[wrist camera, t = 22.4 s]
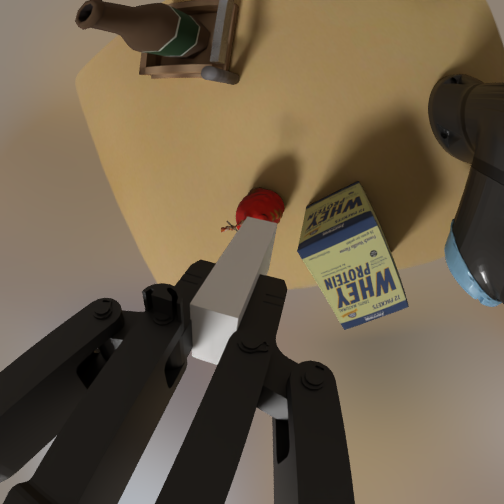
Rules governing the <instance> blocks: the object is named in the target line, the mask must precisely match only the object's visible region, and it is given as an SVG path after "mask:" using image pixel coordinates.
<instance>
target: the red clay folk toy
mask: <svg viewBox="0 0 504 504" xmlns="http://www.w3.org/2000/svg"><path fill="white" fill-rule="evenodd" d="M283 212H284V203H283V201H282V199H281V197H280V196H279V195H278V194H277V193H275V192H273V191H271V190H267V189H262V188H260V187H259V188H255V189H252V190H251V191H250V192H249V194H248V195H247V196H245V197H244V198H243V200H242V201H241V202H240V203H239V205H238V208H237V211H236V222H237V225H236V226H233V225H231V224H230V223H229V222H228V221H227V223H228V224H229V225H231V226H226V228H225V227H222V228H221V232H225V231H226V230H236V231H237V229H238V230H239V228H240V227H241V225H242V224H243V223H244V221H245V220H246V218H247V217H251V218H256V219H260V220H265V221H269V222H274V223H277V224H278V223H279V222H280V219H281V218H282V215H283ZM235 227H237V229H236V228H235Z"/></svg>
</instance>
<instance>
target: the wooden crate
mask: <svg viewBox="0 0 504 504" xmlns="http://www.w3.org/2000/svg"><path fill="white" fill-rule="evenodd" d="M166 5H169V6H171V7H173V8H175V9H178V10H180V11H182V12H184V13H186V14H187V15H189V16H191V17H193V18H195V19H197V20H198V21H200V22H201V23H202V24H203V25H204V26H205V27H206V29H207V30H208V31H209V32H210V37H209V41H208V46H207V49H205V50H204V51H203V52H201V53H200V54H199V55H198V56H196V57H195V58H194V59H184V58H171V57H166V56H161V55H156V54H150V53H144V52H142V53H141V61H140V71H139V75H152V76H151V78H154V79H158V78H203V79H206V80H211V81H217V82H222V83H227V84H232V85H234V84H237V83H238V82H239V76H238V75H237V74H235V73H232V72H229V65H230V58H231V51H232V44H233V37H234V31H235V25H236V18H237V12H238V6H237V5H236V4H234V6H233V12H232V18H231V24H230V30H229V37H228V44H227V51H226V58H225V64H216V63H213V62H210V56H211V49H212V42H213V35H214V29H215V23H216V17H217V11H218V5H219V0H193V1H185V2H178V3H172V4H166Z"/></svg>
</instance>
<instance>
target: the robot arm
mask: <svg viewBox="0 0 504 504" xmlns="http://www.w3.org/2000/svg"><path fill="white" fill-rule="evenodd" d="M428 114H429V121H430V125H431V128H432V131H433V133H434V135H435V137H436V139H437V141H438V142H439V144H440V145H441V146H442V147H443V149H444V150H445V151H446V152H448V153H449V154H450V155H451V156H453V157H455V158H457V159H459V160H461V161H463V162H466V163H472V165H471V168H470V172H469V175H468V179H467V182H466V186H465V189H464V192H463V195H462V198H461V201H460V204H459V207H458V210H457V213H456V215H455V218H454V219H453V220H452V223H451V229H450V233H449V236H448V239H447V241H446V244H445V259H446V262H447V265H448V267H449V270H450V271H451V273H452V275H453V276H454V278H455V279H456V281H457V282H458V283H459V285H460V286H461V287H462V288H463V289H464V290H465V291H466V292H467V293H468V294H469V295H470V296H471V297H473V298H474V299H477V298H478V299H479V301H480V303H482V304H483V305H486V306H490V307H494V306H497V305H499V304H501V303H503V304H504V83H483V82H481V81H479V80H478V79H476V78H474V77H471V76H468V75H463V74H456V75H450V76H447V77H444V78H443V79H441V80H440V81H439V82H438V83H437V84H436V85H435V86H434V88H433V90H432V92H431V95H430V98H429V104H428ZM276 229H277V223H274V222H269V221H265V220H260V219H256V218H251V217H247V218H246V220H245V221H244V223H243V224H242V225H241V227H240V228H239V230H238V231H237V233H236V234H235V236H234V237H233V239H232V240H231V242H230V243H229V245H228V246H227V248H226V249H225V251H224V252H223V254H222V255H221V257H220V258H219V260H218V261H217V263H212V262H208V261H204V260H199V261H197V262H195V263H194V264H192V265H191V266H190V267H189V268H188V270H187V271H186V272H185V274H184V275H183V276H182V277H181V279H180V280H179V281H178V282H177V284H176V285H175V286H172V285H170V284H164V283H161V284H154V285H151V286H149V287H147V288H146V289H144V290H143V291H142V293H143V299H144V305H145V312H133V311H122V309H121V306H120V304H119V303H118V302H117V301H115V300H114V299H111V298H102V299H98V300H96V301H94V302H92V303H90V304H89V305H88V306H86V307H85V308H83V309H82V310H81V311H79V312H78V313H76V314H75V315H74V316H72V317H71V318H70V319H68V320H67V321H65V322H64V323H63V324H61V325H60V326H59V327H57V328H56V329H55V330H53V331H52V332H51V333H49V334H48V335H47V336H45V337H44V338H43V339H41V340H40V341H39V342H38V343H36V344H35V345H34V346H33V347H31V348H30V349H29V350H27V351H26V352H25V353H23V354H22V355H21V356H20V357H18V358H17V359H16V360H15V361H14V362H12V363H11V364H10V365H9V366H7V367H6V368H5V369H4V370H3V371H1V372H0V482H2V481H4V480H6V479H8V478H10V477H11V476H12V475H14V474H15V473H16V472H17V471H19V470H20V469H21V468H22V467H23V466H24V465H25V464H26V463H27V462H28V461H29V460H30V459H31V458H33V457H34V456H35V455H36V454H37V453H38V452H39V451H40V450H41V449H42V448H43V447H45V445H47V444H48V443H49V442H50V441H51V440H52V439H53V438H54V437H56V435H57V437H56V438H55V440H54V441H53V443H52V445H51V447H50V448H49V450H48V451H47V453H46V455H45V456H44V458H43V460H42V461H41V463H40V465H39V466H38V468H37V470H36V472H35V473H34V475H33V477H32V478H31V479H30V480H29V481H27V482H23V483H19V484H17V485H15V486H14V487H12V489H11V490H10V491H9V493H8V495H7V497H6V499H5V501H4V503H3V504H118V502H119V500H120V498H121V496H122V494H123V492H124V490H125V488H126V486H127V484H128V482H129V480H130V478H131V476H132V473H133V472H134V470H135V468H136V466H137V464H138V462H139V460H140V458H141V456H142V454H143V452H144V450H145V448H146V446H147V444H148V442H149V440H150V438H151V436H152V434H153V432H154V430H155V428H156V427H157V424H158V423H159V421H160V418H161V417H162V415H163V413H164V411H165V409H166V406H167V405H168V403H169V401H170V399H171V397H172V395H173V393H174V391H175V389H176V387H177V385H178V384H179V382H180V380H181V378H182V376H183V374H184V372H185V370H186V367H187V357H188V355H189V353H190V351H191V349H192V357H195V358H198V359H201V360H204V361H207V362H210V363H213V364H216V365H217V367H216V370H215V372H214V374H213V376H212V379H211V381H210V383H209V386H208V388H207V390H206V393H205V395H204V397H203V399H202V402H201V404H200V406H199V408H198V410H197V413H196V415H195V417H194V420H193V422H192V424H191V426H190V428H189V431H188V433H187V435H186V437H185V440H184V442H183V444H182V446H181V448H180V450H179V453H178V455H177V457H176V459H175V461H174V464H173V466H172V468H171V470H170V472H169V474H168V477H167V479H166V481H165V483H164V485H163V488H162V490H161V492H160V494H159V496H158V498H157V500H156V503H155V504H224V503H225V501H226V498H227V495H228V492H229V489H230V487H231V484H232V481H233V478H234V475H235V472H236V469H237V466H238V463H239V461H240V457H241V454H242V451H243V448H244V445H245V442H246V439H247V436H248V433H249V430H250V426H251V423H252V420H253V417H254V413H255V410H256V407H257V408H259V409H260V410H262V411H264V412H265V413H267V414H269V415H270V416H272V422H273V464H274V504H355V501H354V492H353V484H352V476H351V470H350V462H349V455H348V448H347V442H346V435H345V430H344V423H343V418H342V413H341V407H340V401H339V396H338V391H337V386H336V381H335V377H334V375H333V373H332V371H331V370H330V369H329V368H328V367H327V366H325V365H323V364H322V363H320V362H315V361H305V362H301V363H299V364H298V363H296V362H294V361H292V360H291V359H289V358H288V357H286V356H285V355H283V354H282V352H281V351H280V350H279V348H278V347H277V345H276V334H277V330H278V326H279V322H280V318H281V313H282V310H283V305H284V302H285V297H286V293H287V287H286V284H285V281H284V280H282V279H278V278H274V277H270V276H266V275H267V272H268V270H269V265H270V260H271V255H272V249H273V244H274V239H275V234H276ZM97 348H98V349H97Z"/></svg>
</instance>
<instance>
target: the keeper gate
mask: <svg viewBox="0 0 504 504" xmlns="http://www.w3.org/2000/svg"><path fill="white" fill-rule="evenodd" d="M233 6H234V0H219V5H218V11H217V17H216V23H215V29H214V35H213V42H212V49H211V56H210V62H213V63H216V64H225V58H226V51H227V44H228V37H229V30H230V24H231V18H232V12H233Z"/></svg>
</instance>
